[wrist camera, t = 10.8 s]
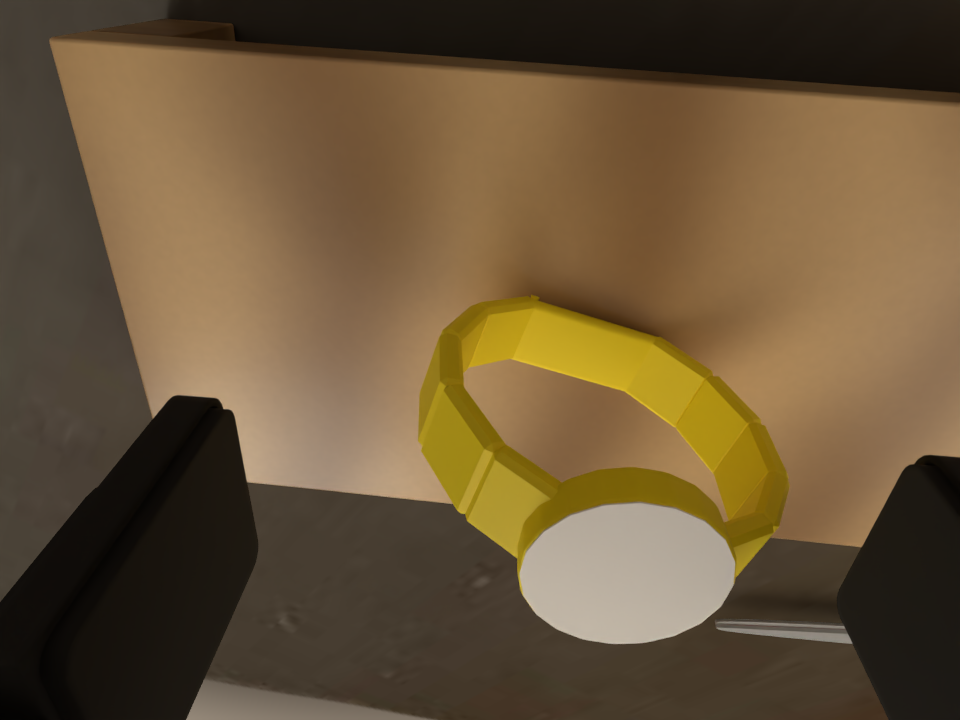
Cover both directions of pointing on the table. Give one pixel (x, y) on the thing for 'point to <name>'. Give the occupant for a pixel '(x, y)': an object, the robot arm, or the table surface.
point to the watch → (604, 477)
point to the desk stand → (524, 253)
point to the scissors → (787, 629)
